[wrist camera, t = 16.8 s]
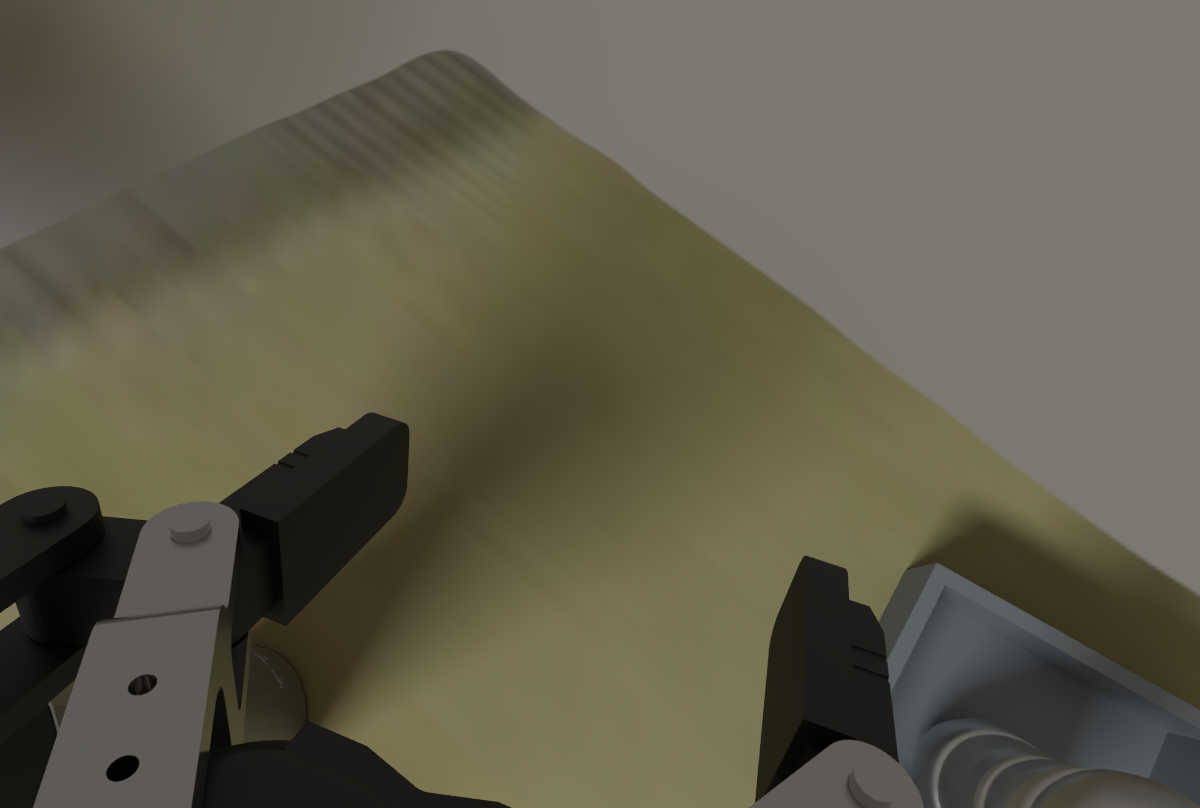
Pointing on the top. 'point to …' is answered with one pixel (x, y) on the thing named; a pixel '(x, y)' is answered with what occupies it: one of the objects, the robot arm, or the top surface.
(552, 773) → the top surface
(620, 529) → the top surface
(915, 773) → the plastic bottle
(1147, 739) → the tray
